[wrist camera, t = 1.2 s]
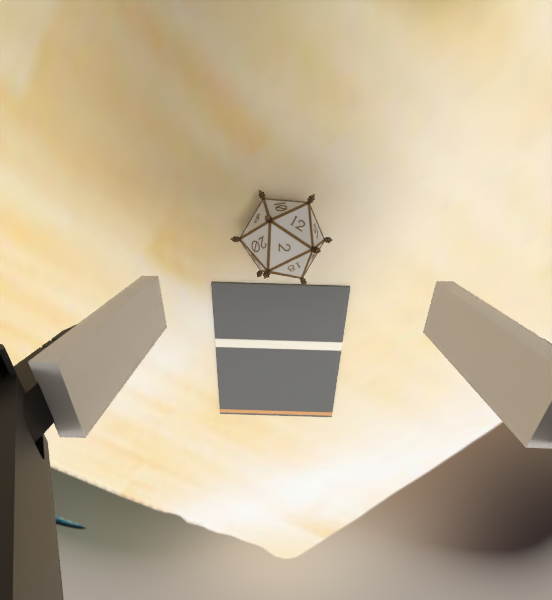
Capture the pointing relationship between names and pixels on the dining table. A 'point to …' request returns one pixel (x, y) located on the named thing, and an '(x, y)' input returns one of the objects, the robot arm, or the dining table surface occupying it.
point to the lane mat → (278, 347)
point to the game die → (283, 237)
